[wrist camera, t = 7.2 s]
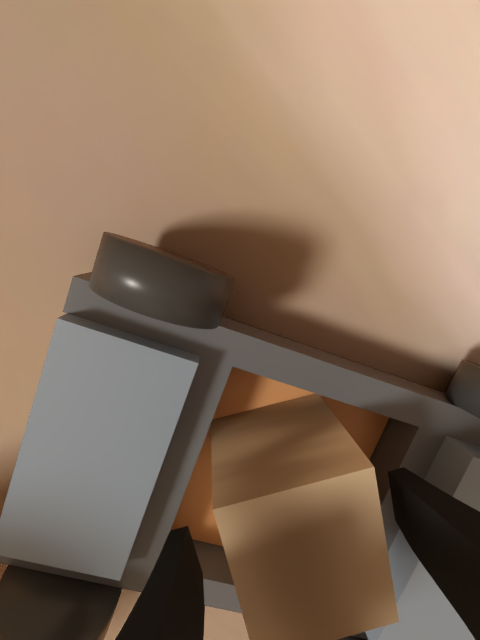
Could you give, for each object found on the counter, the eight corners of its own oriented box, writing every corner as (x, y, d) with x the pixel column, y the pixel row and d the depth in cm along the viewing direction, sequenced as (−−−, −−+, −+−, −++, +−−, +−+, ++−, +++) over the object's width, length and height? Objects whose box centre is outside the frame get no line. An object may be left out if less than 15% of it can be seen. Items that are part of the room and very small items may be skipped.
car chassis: (531, 383, 16) (646, 432, 12) (397, 634, 18) (454, 749, 14) (106, 228, 13) (58, 219, 9) (10, 551, 15) (-65, 666, 11)
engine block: (317, 392, 14) (374, 467, 10) (339, 504, 16) (399, 621, 11) (210, 419, 14) (212, 509, 9) (240, 531, 15) (256, 662, 11)
